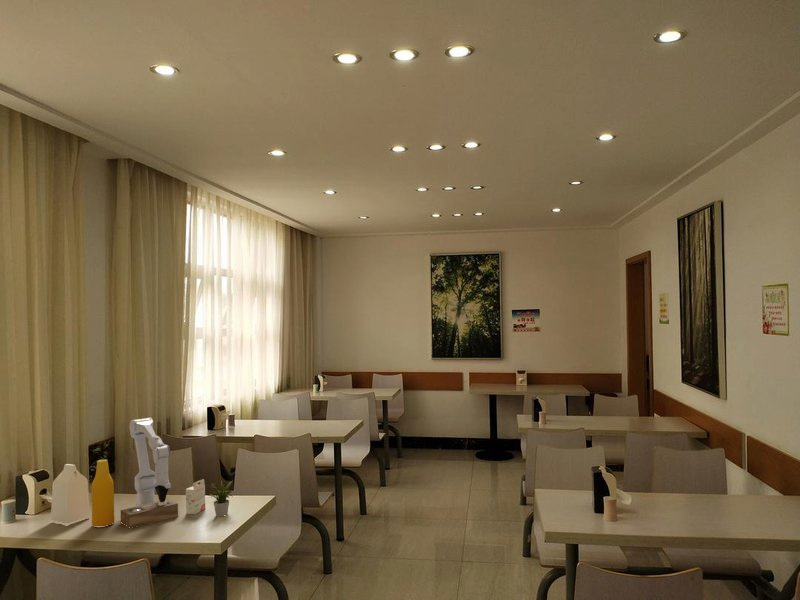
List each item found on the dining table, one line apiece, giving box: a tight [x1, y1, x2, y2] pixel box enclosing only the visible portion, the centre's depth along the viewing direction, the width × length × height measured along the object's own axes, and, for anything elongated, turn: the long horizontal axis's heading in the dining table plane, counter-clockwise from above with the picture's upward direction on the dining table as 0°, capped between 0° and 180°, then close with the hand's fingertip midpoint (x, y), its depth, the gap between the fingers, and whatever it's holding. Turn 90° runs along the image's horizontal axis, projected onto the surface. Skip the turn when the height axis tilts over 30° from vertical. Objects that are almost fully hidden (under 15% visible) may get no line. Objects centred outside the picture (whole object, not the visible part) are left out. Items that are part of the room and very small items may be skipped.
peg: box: [157, 499, 167, 506], centre depth 282 cm, size 4×4×6 cm
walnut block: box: [120, 498, 179, 529], centre depth 278 cm, size 11×22×6 cm, turn 135°
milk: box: [50, 463, 91, 523], centre depth 281 cm, size 12×12×26 cm
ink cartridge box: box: [185, 478, 206, 515], centre depth 288 cm, size 9×5×15 cm, turn 161°
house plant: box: [207, 479, 233, 517], centre depth 281 cm, size 14×14×16 cm
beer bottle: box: [91, 459, 115, 527], centre depth 273 cm, size 9×9×29 cm
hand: (162, 501), depth 282 cm, fingers closed, pressing on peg
